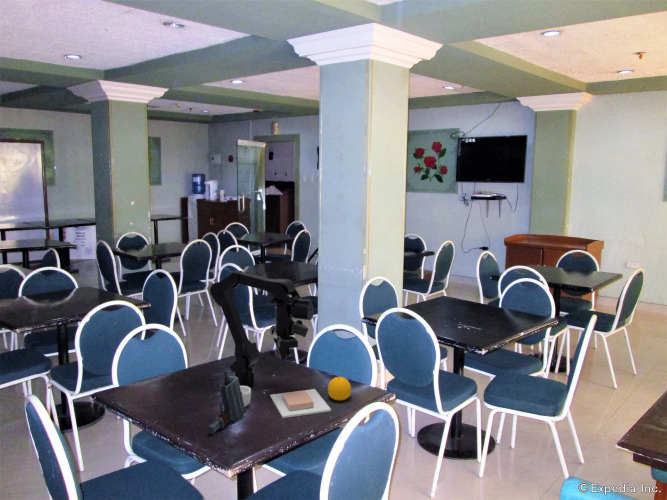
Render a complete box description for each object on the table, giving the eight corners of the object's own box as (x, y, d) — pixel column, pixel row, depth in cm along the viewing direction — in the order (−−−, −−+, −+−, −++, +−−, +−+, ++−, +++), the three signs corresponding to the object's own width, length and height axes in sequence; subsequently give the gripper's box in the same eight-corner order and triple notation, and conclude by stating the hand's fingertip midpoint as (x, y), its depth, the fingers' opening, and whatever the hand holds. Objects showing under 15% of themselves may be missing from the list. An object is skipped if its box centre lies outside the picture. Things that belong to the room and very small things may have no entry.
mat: (282, 418, 169) (282, 416, 169) (270, 396, 186) (270, 394, 186) (331, 411, 174) (331, 409, 174) (314, 390, 191) (314, 389, 191)
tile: (282, 399, 182) (289, 411, 173) (282, 393, 182) (289, 405, 172) (305, 396, 185) (313, 407, 175) (305, 390, 184) (313, 402, 175)
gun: (197, 392, 154) (230, 364, 166) (209, 440, 160) (240, 409, 172) (204, 394, 153) (237, 365, 165) (216, 442, 159) (247, 411, 171)
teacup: (236, 399, 184) (236, 384, 183) (255, 403, 180) (255, 387, 180) (218, 410, 175) (218, 394, 174) (238, 415, 171) (238, 398, 171)
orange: (348, 404, 180) (348, 382, 179) (325, 402, 181) (325, 380, 180) (352, 394, 187) (352, 374, 186) (330, 393, 189) (330, 372, 188)
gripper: (313, 322, 180) (312, 367, 182) (300, 308, 197) (299, 349, 200) (280, 324, 177) (279, 370, 179) (269, 310, 194) (269, 352, 196)
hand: (283, 360), depth 188 cm, fingers closed
